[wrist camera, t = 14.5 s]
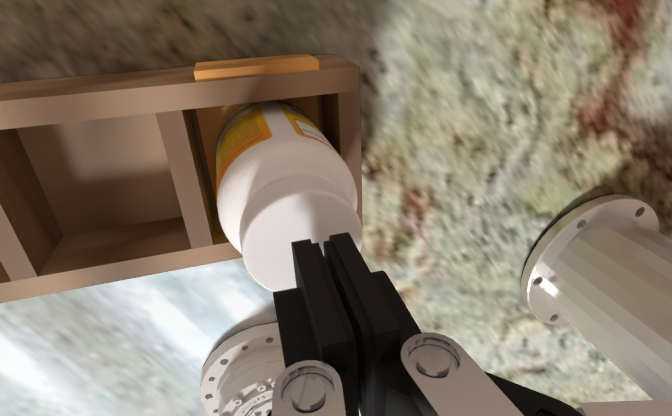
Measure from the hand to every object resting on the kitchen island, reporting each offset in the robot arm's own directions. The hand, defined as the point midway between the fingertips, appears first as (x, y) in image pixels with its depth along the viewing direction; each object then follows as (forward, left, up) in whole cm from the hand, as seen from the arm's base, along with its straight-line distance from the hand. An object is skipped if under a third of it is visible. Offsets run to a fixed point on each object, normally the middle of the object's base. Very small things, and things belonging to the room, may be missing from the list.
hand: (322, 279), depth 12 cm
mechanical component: (+2, +18, -13) cm, 22 cm away
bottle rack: (+8, 0, -12) cm, 15 cm away
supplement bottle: (0, 0, -11) cm, 11 cm away
